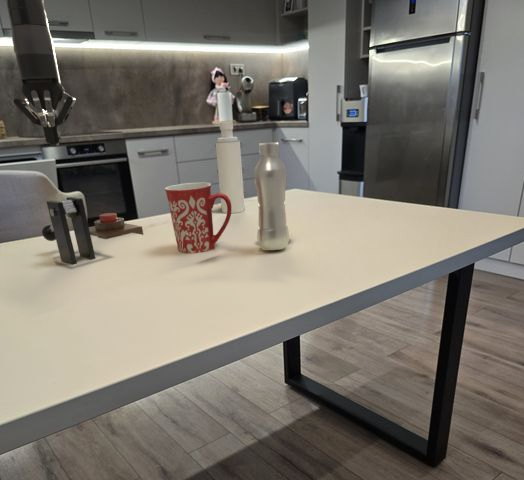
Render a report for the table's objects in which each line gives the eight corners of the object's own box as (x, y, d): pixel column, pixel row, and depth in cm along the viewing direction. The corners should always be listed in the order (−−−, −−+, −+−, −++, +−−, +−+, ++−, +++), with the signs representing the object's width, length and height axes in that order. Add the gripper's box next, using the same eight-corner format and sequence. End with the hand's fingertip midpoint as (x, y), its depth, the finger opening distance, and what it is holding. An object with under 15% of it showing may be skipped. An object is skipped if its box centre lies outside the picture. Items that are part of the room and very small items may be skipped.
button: (97, 222, 116) (96, 215, 115) (112, 219, 118) (110, 212, 118) (106, 224, 113) (104, 216, 113) (121, 221, 116) (119, 213, 115)
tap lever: (44, 244, 99) (37, 230, 99) (59, 241, 101) (52, 227, 101) (64, 215, 88) (56, 199, 88) (80, 212, 91) (73, 197, 90)
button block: (81, 238, 118) (77, 221, 116) (116, 230, 124) (113, 214, 123) (107, 244, 111) (104, 227, 109) (143, 235, 117) (140, 218, 115)
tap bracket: (49, 267, 96) (31, 201, 90) (85, 257, 101) (71, 194, 95) (74, 275, 90) (56, 205, 84) (111, 264, 95) (97, 198, 89)
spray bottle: (244, 212, 135) (237, 114, 124) (221, 214, 135) (211, 115, 124) (245, 208, 141) (238, 114, 130) (222, 209, 141) (213, 115, 130)
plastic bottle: (252, 253, 96) (245, 145, 87) (265, 244, 102) (259, 142, 93) (282, 254, 94) (278, 144, 85) (294, 245, 100) (291, 141, 91)
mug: (167, 260, 95) (156, 190, 89) (182, 248, 103) (174, 183, 97) (229, 260, 93) (222, 187, 86) (239, 248, 100) (234, 180, 94)
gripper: (73, 54, 101) (89, 143, 109) (10, 56, 101) (30, 145, 109) (62, 50, 95) (79, 145, 102) (-6, 52, 94) (17, 147, 102)
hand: (54, 145), depth 106 cm, fingers closed
